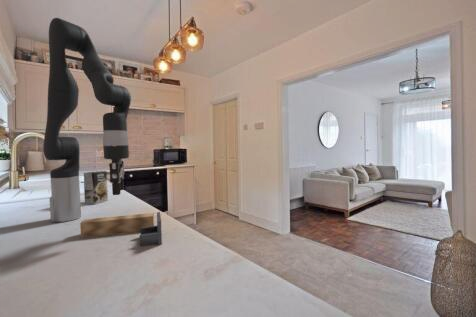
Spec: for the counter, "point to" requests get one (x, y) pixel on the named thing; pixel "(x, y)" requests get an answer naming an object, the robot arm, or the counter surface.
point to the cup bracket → (151, 233)
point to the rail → (115, 224)
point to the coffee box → (95, 187)
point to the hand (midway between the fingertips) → (118, 192)
